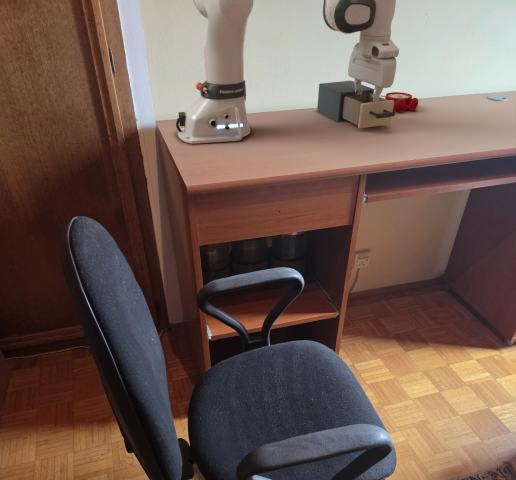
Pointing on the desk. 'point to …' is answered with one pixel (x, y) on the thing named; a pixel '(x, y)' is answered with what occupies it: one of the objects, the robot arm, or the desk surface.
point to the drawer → (366, 110)
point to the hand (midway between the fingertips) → (366, 98)
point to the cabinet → (336, 97)
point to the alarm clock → (402, 101)
